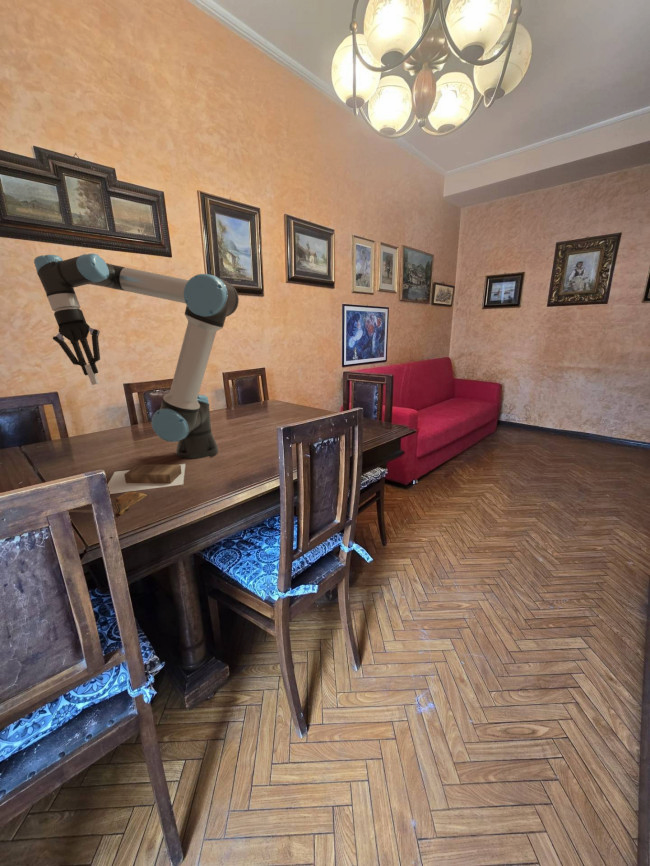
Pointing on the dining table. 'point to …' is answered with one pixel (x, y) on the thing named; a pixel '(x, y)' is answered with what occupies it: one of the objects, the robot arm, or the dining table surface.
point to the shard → (128, 500)
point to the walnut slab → (153, 474)
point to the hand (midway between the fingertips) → (95, 384)
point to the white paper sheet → (120, 485)
